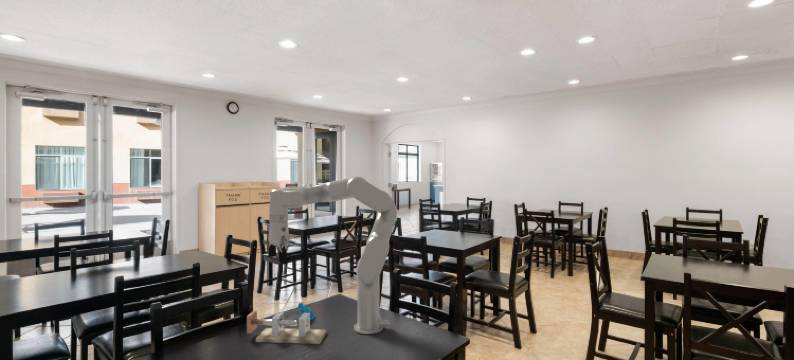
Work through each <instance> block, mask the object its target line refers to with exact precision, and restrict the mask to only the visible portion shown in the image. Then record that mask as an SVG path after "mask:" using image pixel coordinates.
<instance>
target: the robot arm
mask: <svg viewBox="0 0 794 360" xmlns="http://www.w3.org/2000/svg"><path fill="white" fill-rule="evenodd" d="M352 198H353V199H356V200H357V201H358V202H359V203H361V204H363V205H365V206H366V207H368V208H369V209H371V210H373V211H375V212H376V217H375V221H374V222H373V223H374V224H373V225H372V226H373V227H372V229H371V230H370V234H369V236H368V238H367V239H366V245H365V248H364V250H363V253H362V255H361V257H360V258H359V259H358V261H357V263H356V277H357V279H356V280H357V281H356V282H357V285H356V286H357V288H356V289H357V293H356V297H357V298H356V299H357V301H356V303H357V304H356V305H357V306H356V308H357V309H356V310H357V312H356V313H357V315H356V316H357V323H354V325H353V330H354V332H356V333H359V334H362V335H372V334H373V335H374V334H378V333H380V332H382V331H383V330H384V329H383V328H384V326H385V327H390V324H391V323H390V320H388V319H383V318H382V316H381V315H380V275H381V273H382V270H383V267H384V265H385V263H386V259H387V257H388V254H389V251H390V239H391V236H392V234H393V232H394V231H393V230H394V228H395V225H396V221H397V214H398V212H397V206H396V203H395V202H394V200H393V198H392V196H391V195H390V194H389V193H388V192H387V191H385V190H381V189H380V188H379V187H376V186H375V185H373V184H371V183H370V182H368V181H367V180H366V179H365V178H363V177H361V176H354V177H348V178H343V179H338V180H333V181H332V180H331V181H328V182H324V183H322V184H318V185H314V186H308V187H303V188H297V189H293V190H287V189H283V188H282V189H281V188H279V189H278V188H275V189H272V190H270V193H269V216H268V217H269V218H268V221H269V222H268V223H269V227H268V236H267V240H268V241H267V243H268V258H273V257H277V247H278V250H279V252H278V262H286V261H287V256H288V255H287V253H288V249H289V244H290V241H289V239H290V235H289V233H290V232H289V231H290V230H289V224H288V221H289V208H294V209H298V208H299V209H300V208H301V207H303V206H307V205H311V204H312V205H313V204H316V203H317V204H318V203H325V202H326V203H332V202H333V203H334V202H337V201H342V200H343V201H344V200H348V199H352Z"/></svg>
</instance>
